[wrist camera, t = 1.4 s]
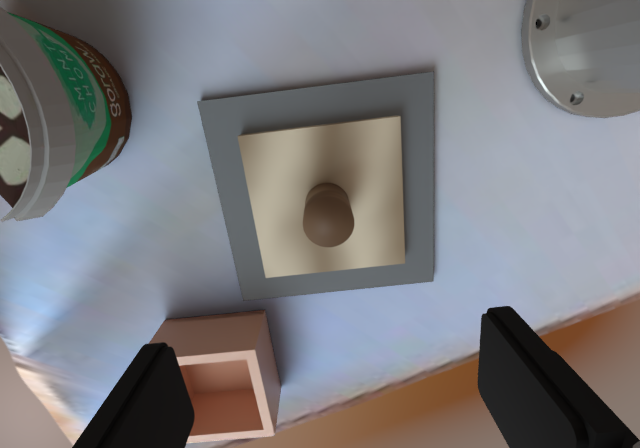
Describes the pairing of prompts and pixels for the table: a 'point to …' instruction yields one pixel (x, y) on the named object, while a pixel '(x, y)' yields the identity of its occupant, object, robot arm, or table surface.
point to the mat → (317, 109)
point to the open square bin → (226, 373)
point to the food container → (54, 114)
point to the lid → (327, 195)
